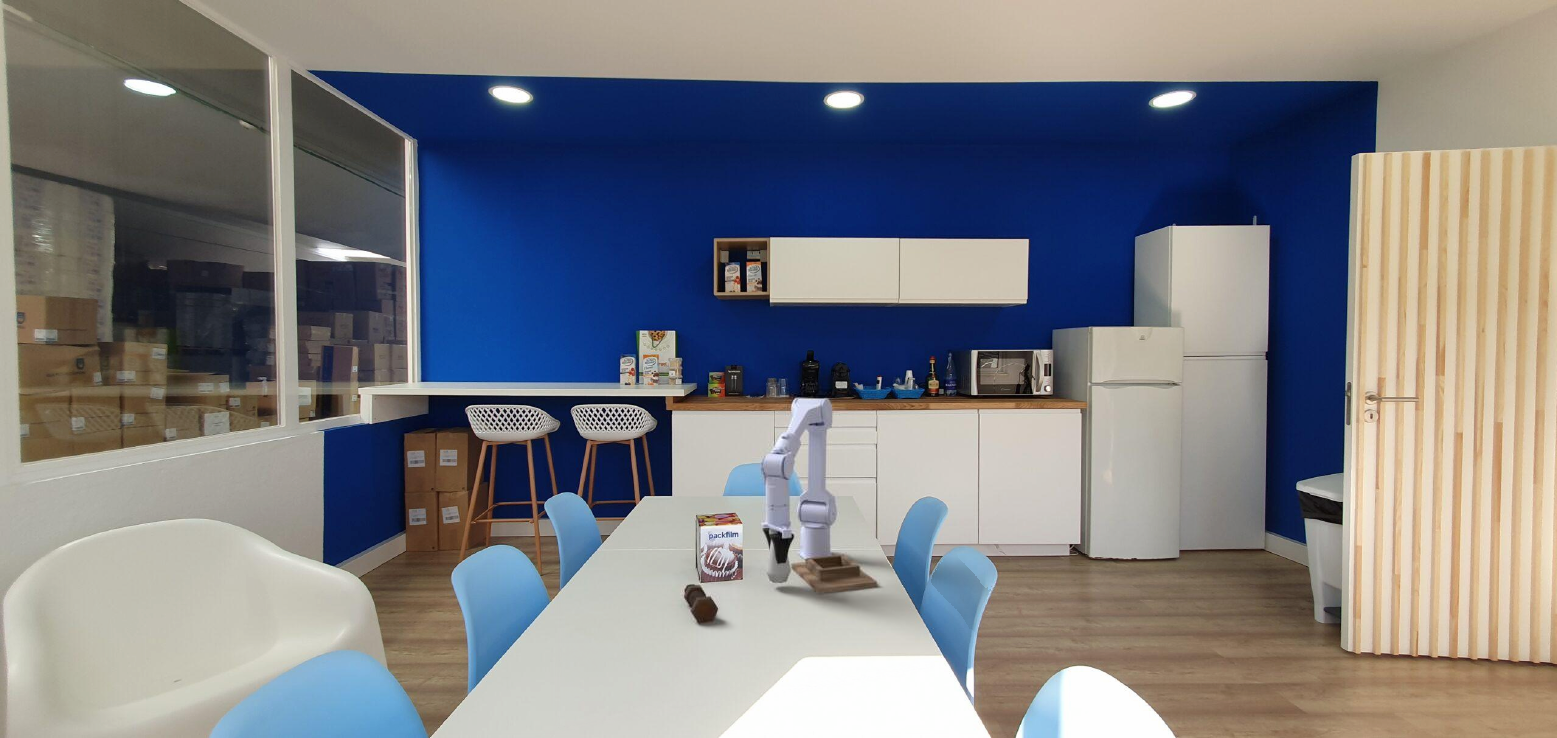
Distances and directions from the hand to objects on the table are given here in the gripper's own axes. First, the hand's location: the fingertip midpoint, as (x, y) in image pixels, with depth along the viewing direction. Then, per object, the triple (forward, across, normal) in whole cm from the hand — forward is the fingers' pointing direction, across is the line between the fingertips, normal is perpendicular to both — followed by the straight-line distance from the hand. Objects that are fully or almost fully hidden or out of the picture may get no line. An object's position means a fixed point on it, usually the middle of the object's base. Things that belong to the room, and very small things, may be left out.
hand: (778, 560), depth 164 cm
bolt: (+7, +8, -21) cm, 23 cm away
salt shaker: (+5, 0, 0) cm, 5 cm away
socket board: (+7, -3, +15) cm, 17 cm away
